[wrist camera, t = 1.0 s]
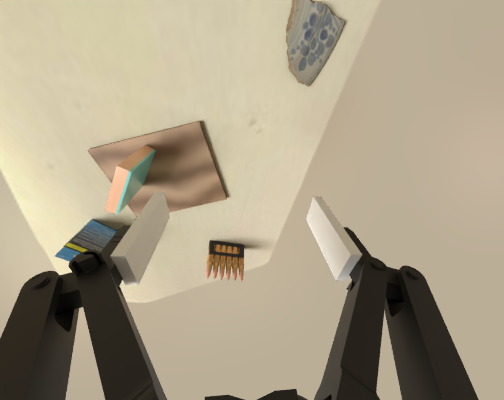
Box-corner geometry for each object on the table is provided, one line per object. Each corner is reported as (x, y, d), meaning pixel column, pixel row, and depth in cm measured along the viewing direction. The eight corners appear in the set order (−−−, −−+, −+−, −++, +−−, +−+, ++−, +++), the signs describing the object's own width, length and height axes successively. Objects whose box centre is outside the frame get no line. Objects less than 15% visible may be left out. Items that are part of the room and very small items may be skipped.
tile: (132, 181, 42) (104, 210, 33) (145, 144, 38) (116, 165, 29) (142, 185, 43) (117, 214, 34) (156, 150, 39) (131, 172, 30)
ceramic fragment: (303, -26, 26) (355, 19, 29) (299, -14, 29) (347, 26, 31) (264, 56, 31) (311, 89, 33) (264, 59, 34) (307, 90, 36)
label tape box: (86, 226, 50) (47, 265, 40) (92, 218, 48) (53, 255, 38) (119, 241, 54) (92, 280, 43) (126, 233, 52) (99, 271, 42)
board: (90, 148, 39) (87, 150, 38) (199, 121, 37) (198, 122, 36) (139, 216, 49) (138, 219, 48) (226, 197, 48) (226, 199, 47)
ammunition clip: (209, 244, 57) (203, 279, 47) (210, 240, 56) (204, 275, 46) (242, 248, 59) (244, 283, 49) (244, 244, 58) (245, 279, 48)
